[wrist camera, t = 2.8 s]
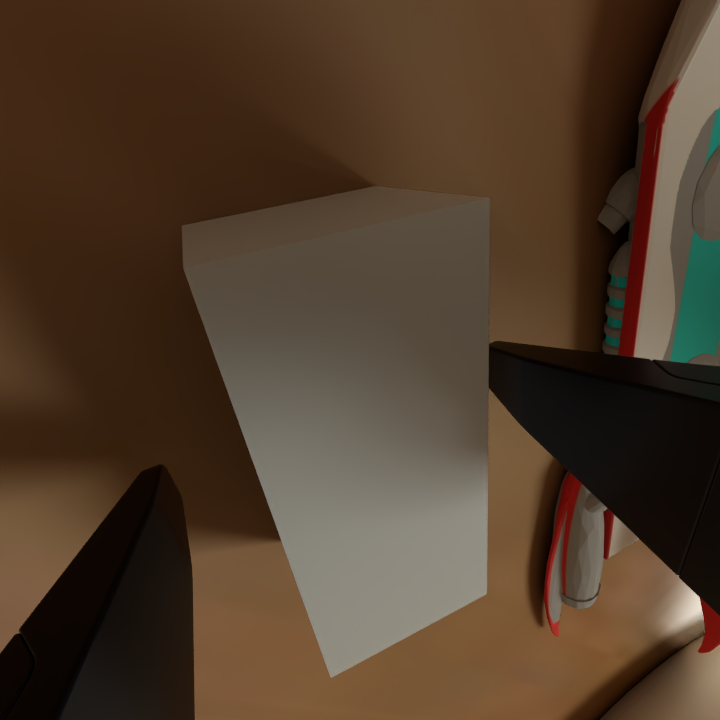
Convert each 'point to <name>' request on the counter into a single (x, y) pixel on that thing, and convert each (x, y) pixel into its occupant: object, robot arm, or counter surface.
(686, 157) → the toy spaceship
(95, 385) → the counter surface
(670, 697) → the bowl
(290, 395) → the matte grey rectangular prism
